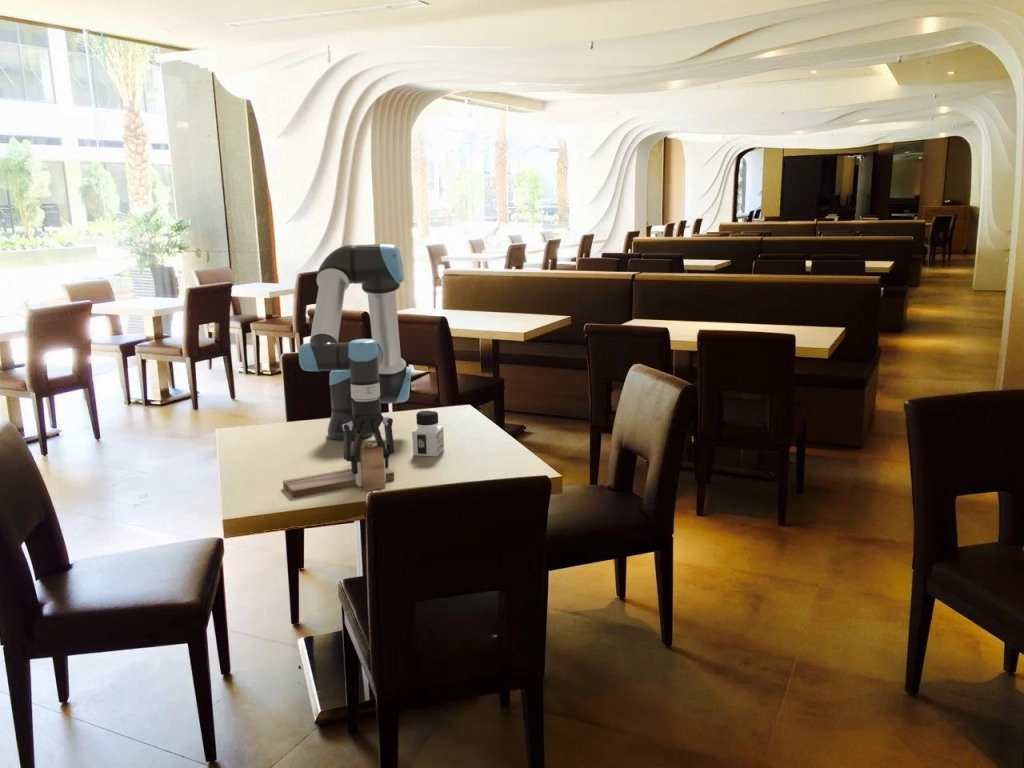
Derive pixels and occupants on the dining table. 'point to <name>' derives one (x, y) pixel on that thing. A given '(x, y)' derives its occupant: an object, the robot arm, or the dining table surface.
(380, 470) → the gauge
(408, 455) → the dining table surface
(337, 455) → the dining table surface
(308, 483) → the board
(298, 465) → the dining table surface
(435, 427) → the container
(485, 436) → the dining table surface
